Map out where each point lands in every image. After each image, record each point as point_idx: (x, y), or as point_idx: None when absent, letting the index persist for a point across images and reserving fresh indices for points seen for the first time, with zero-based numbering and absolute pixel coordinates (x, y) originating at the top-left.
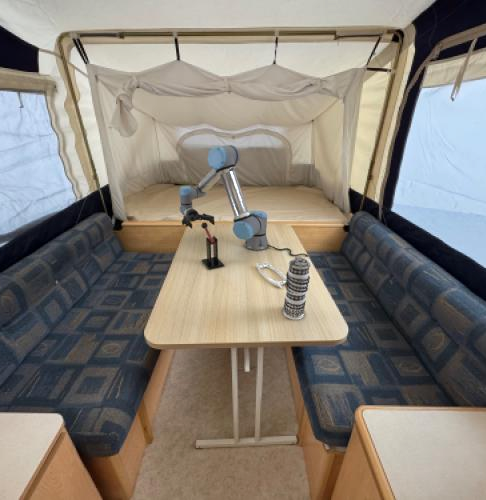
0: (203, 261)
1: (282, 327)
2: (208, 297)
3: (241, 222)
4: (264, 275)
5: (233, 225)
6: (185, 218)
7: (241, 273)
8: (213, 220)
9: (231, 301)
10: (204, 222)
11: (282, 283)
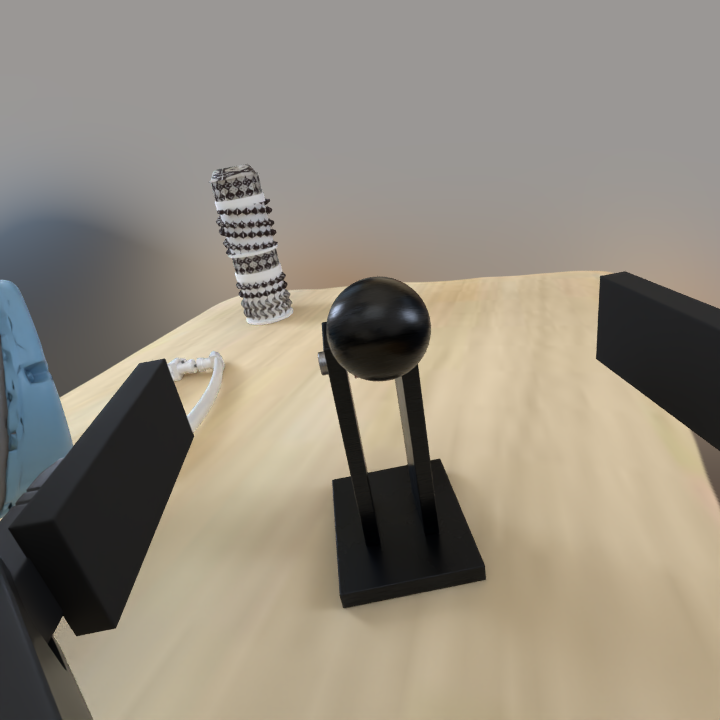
0: (470, 533)
1: (321, 298)
2: (467, 341)
3: (3, 280)
4: (215, 386)
5: (33, 354)
6: None
7: (280, 429)
8: (154, 364)
9: None
10: (367, 281)
11: (195, 368)
